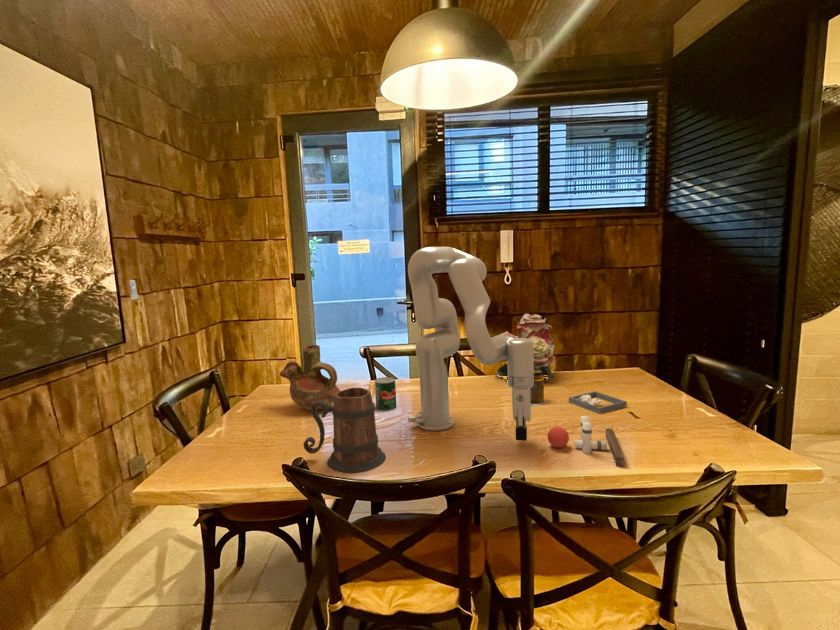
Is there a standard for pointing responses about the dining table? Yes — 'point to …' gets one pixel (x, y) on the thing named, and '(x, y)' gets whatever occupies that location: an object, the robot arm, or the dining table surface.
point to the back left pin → (584, 419)
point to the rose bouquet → (535, 344)
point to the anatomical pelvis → (589, 399)
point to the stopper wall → (615, 447)
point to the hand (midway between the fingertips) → (521, 439)
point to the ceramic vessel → (311, 380)
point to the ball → (558, 437)
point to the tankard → (350, 432)
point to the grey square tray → (617, 404)
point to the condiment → (537, 389)
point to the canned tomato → (385, 393)
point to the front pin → (593, 444)
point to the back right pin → (586, 437)
